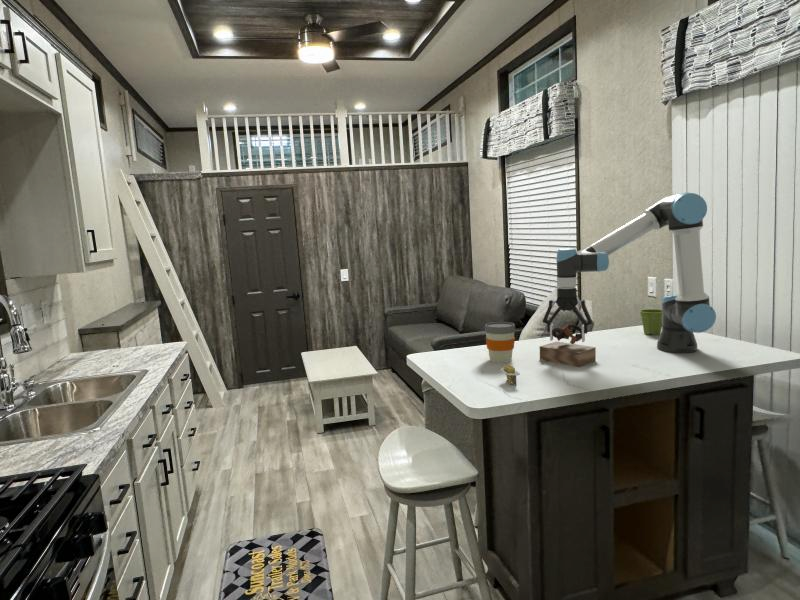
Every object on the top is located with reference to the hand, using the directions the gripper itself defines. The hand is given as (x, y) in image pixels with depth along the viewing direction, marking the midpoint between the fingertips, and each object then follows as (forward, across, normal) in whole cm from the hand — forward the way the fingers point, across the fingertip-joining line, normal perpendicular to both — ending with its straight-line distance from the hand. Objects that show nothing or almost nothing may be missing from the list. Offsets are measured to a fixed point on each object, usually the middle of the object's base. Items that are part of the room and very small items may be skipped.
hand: (567, 340), depth 210 cm
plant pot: (+9, -30, -61) cm, 68 cm away
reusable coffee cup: (+8, +26, +6) cm, 28 cm away
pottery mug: (+1, 0, -1) cm, 2 cm away
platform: (+9, +14, +36) cm, 40 cm away
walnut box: (+9, 0, 0) cm, 9 cm away
